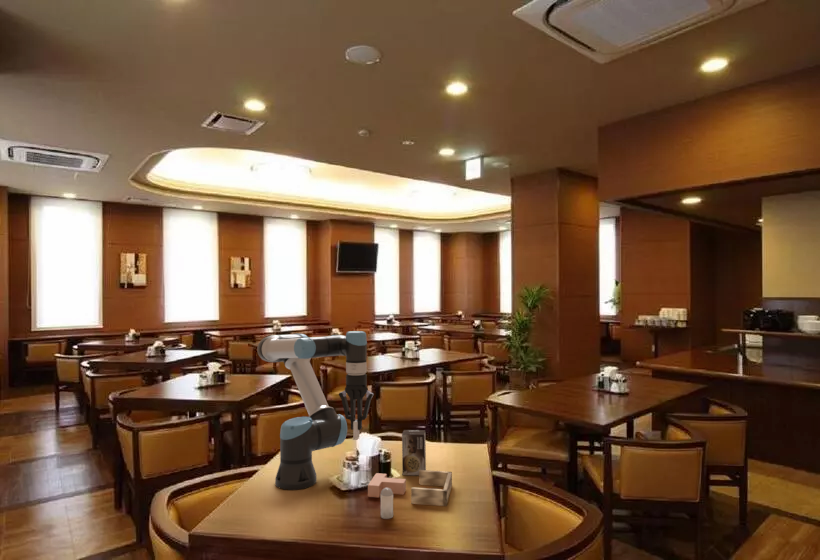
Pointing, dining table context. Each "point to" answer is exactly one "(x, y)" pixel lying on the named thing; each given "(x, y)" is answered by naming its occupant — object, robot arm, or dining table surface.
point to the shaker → (386, 503)
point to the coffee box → (413, 452)
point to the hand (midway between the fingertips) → (356, 438)
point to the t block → (385, 485)
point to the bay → (432, 495)
